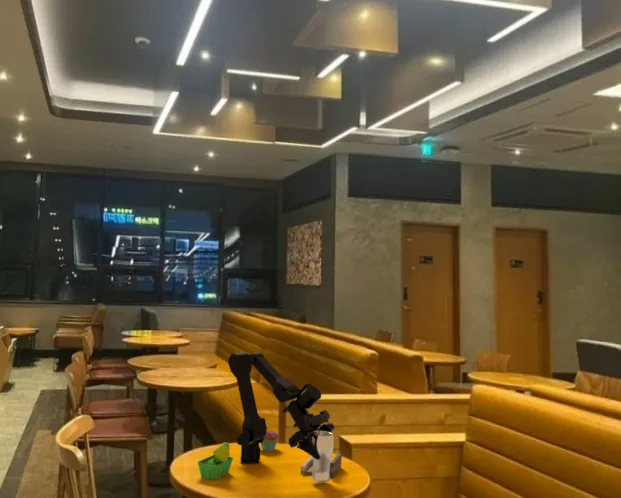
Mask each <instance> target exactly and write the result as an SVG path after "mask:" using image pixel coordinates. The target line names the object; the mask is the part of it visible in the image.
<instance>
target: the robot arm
mask: <svg viewBox="0 0 621 498" xmlns="http://www.w3.org/2000/svg"><path fill="white" fill-rule="evenodd" d="M227 363H228V364H227V365H228V367H229V370H230V372H231V373H232V375H233V376H234V377H235V378H236V379H235V380H236V382H237V383H236V384H237V387H238V388H237V389H238V391H239V397H240V401H241V407H242V411H243V416H244V418H243V422H242V425H241V426H242V427H241V430H242V433H240V435H238V436H237V437H236V443H237V445H238V446H240V457H239V459H240V463H241V464H259V463H260V460H261V450H262V448H261V446H260V444H261V443H263V440H264V437H265V436H266V434H267V430H268V425H267V423H266V419H265V417H261V416H260V414H259V413H258V408H257V405H256V403H257V402H256V398H255V394H254V390H253V389H254V388H253V385H252V384H253V383H252V379H251V372H252V369H253V368H255V369H256V370H257V372H259V374H260V375H261V376H262V377H263V378H264V379H265V380H266V382H267V383H268V384H269V385H270V386H271V389H272V393H273V395H274V397H275V398H276V399H277V401H278V402H279V403H287V402H289V403H288V404H284V405H283V410H282V413H283V414H286V413H289V415H290V417H291V418H292V420H293V422H294V423H293V427H294V428H298V431H296V432H295V433H293V434H292V435H291V436H290V437H289V438H288V445H289V447H290V448H297V449H299V450H302V452H303V451H304V452H305V453H307V454H308V456H309V455H310V457H314V458H315V459H317V460H319V459H320V457H319V454H318V452H317V450H316V448H315V447H314V445H313V435H314V432H315V431H328V432H331V433H333V431H334V430H335V429H336V427H335V426H334V424H333V422H329V420H330V418H331V415H330V413H329V412H328V411H327V410H326V409H325V410H322V411H319V414H315V415H314V413H313V412H312V413H309V409H311V408H313V406H315V404H316V403H317V402H319V400H321V398H322V393H321V391H320V389H318V388H317V387H316V386H314V385H312V384H311V382H308V383H305V384H304V385H303V387H302V388H298V386H297V385H296V384H295V383H294V382H292V381H291V380H289V379H287V378H284V377H283V376H282V375H281V373H279V372H278V370H276V368H274V366H273V365H272V364H271V363H270V362H269V361H268V360H267V358H266V357H265V356H264V354H263V353H261V352H254V353H253V352H252V353H248V352H238V353H237V352H236V353H232V354H230V356H229V357H228V359H227Z"/></svg>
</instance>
